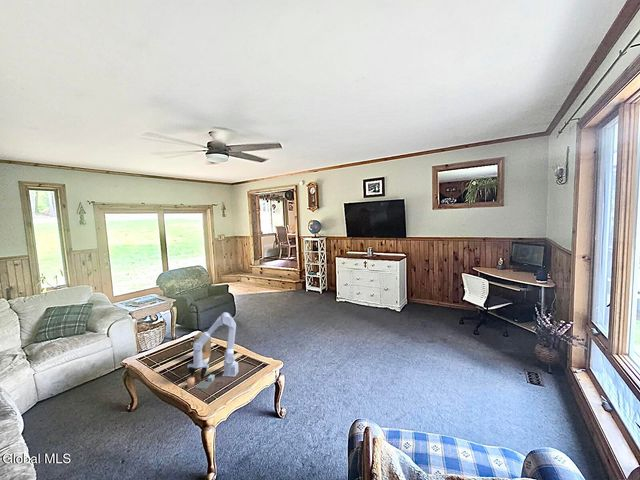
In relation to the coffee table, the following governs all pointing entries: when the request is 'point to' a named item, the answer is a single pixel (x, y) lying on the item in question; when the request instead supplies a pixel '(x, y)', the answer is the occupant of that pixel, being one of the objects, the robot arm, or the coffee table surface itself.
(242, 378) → the coffee table surface
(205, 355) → the lidded jar
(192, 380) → the tan rounded cylinder
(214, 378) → the blue plastic box
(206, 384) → the slate coaster
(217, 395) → the coffee table surface
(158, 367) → the coffee table surface
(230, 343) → the robot arm
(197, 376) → the walnut block
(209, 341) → the wooden block
